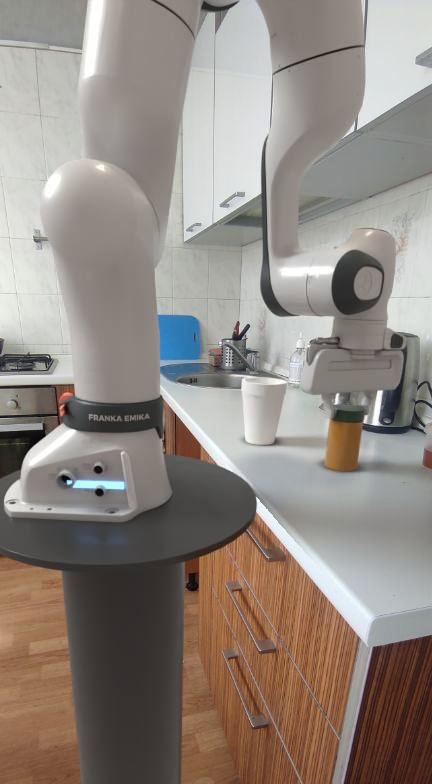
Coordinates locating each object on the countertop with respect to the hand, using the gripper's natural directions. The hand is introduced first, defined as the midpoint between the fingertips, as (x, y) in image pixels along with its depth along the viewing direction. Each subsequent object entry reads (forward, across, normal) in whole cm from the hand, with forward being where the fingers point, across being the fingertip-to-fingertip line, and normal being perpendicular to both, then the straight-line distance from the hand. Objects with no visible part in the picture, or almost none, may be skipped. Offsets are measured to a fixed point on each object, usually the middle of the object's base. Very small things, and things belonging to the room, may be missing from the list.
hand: (346, 416), depth 85 cm
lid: (-1, 0, 0) cm, 1 cm away
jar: (+10, 0, 0) cm, 10 cm away
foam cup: (+10, -6, +19) cm, 22 cm away
